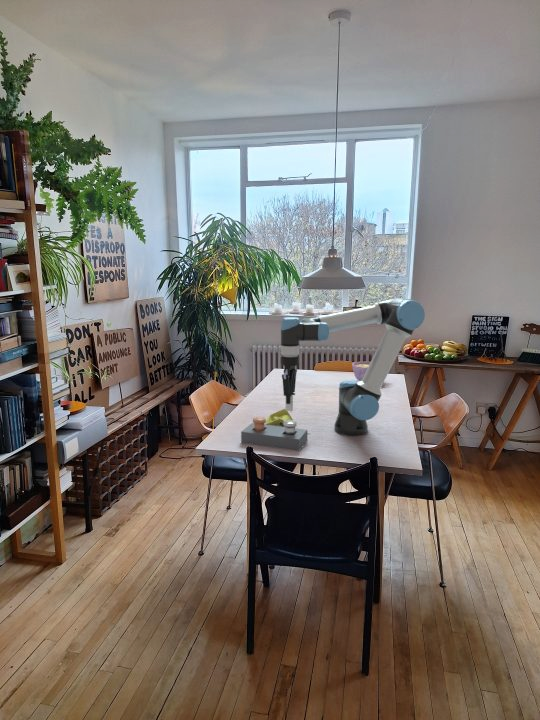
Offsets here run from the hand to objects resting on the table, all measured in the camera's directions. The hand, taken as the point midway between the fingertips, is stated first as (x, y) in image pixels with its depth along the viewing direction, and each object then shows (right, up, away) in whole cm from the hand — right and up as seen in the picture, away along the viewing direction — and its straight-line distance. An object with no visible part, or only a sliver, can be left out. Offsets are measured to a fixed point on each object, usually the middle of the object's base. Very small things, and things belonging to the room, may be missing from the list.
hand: (289, 410), depth 195 cm
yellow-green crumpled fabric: (-4, -11, +24) cm, 27 cm away
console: (-6, -14, +5) cm, 16 cm away
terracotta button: (-13, -10, +7) cm, 18 cm away
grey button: (0, -11, +2) cm, 11 cm away
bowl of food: (+55, +7, +107) cm, 121 cm away
